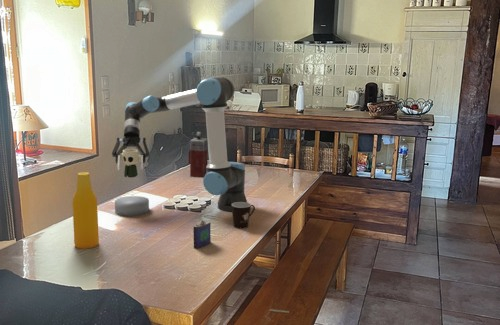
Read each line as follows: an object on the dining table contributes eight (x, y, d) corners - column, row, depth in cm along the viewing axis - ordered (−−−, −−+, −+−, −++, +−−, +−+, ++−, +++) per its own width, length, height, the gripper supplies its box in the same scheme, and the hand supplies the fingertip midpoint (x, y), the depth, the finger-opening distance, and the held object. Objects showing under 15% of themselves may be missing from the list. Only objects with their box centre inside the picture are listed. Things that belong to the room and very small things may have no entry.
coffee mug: (233, 230, 213) (234, 208, 211) (229, 223, 221) (229, 202, 219) (259, 228, 216) (259, 206, 214) (253, 221, 224) (254, 201, 222)
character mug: (116, 177, 230) (116, 150, 227) (124, 174, 237) (123, 148, 234) (137, 179, 227) (137, 152, 224) (144, 176, 234) (144, 149, 231)
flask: (207, 241, 199) (207, 216, 197) (212, 242, 197) (213, 217, 195) (191, 247, 192) (191, 222, 190) (197, 249, 190) (197, 223, 188)
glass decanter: (190, 173, 314) (190, 130, 308) (207, 174, 312) (207, 131, 306) (186, 176, 305) (186, 132, 299) (203, 177, 303) (204, 133, 297)
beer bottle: (103, 241, 195) (100, 171, 189) (90, 250, 186) (86, 177, 180) (83, 239, 198) (80, 169, 191) (69, 247, 189) (65, 175, 183)
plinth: (153, 213, 232) (153, 203, 231) (119, 217, 225) (119, 207, 224) (143, 204, 246) (143, 194, 245) (111, 208, 238) (111, 198, 237)
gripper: (155, 134, 245) (154, 172, 233) (109, 134, 241) (106, 172, 229) (154, 125, 238) (154, 163, 227) (107, 125, 235) (104, 164, 223)
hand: (130, 168), depth 228 cm, fingers closed on character mug, 10 cm apart
